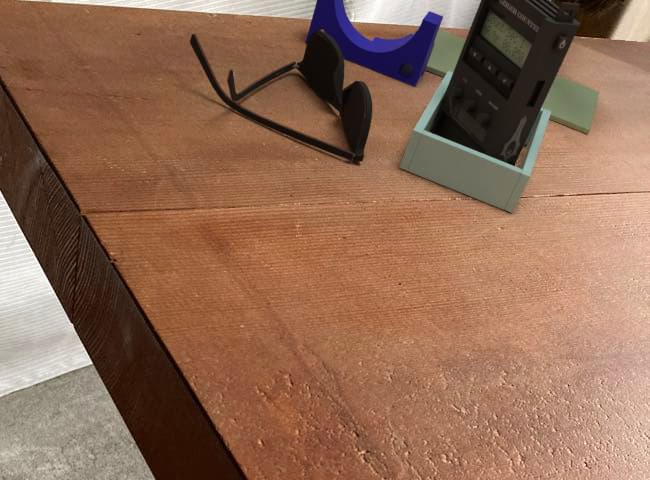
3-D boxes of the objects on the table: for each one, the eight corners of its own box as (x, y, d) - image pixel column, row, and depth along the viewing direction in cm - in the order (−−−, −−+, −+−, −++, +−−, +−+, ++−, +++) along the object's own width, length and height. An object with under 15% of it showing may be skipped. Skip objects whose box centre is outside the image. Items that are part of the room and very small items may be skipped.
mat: (597, 96, 109) (599, 91, 109) (587, 134, 101) (590, 129, 101) (430, 30, 111) (432, 26, 110) (407, 63, 102) (409, 58, 102)
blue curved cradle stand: (424, 72, 102) (446, 12, 97) (414, 86, 99) (437, 24, 94) (317, 30, 103) (335, -32, 98) (305, 42, 99) (322, -21, 95)
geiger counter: (415, 123, 93) (479, -50, 82) (453, 124, 95) (520, -45, 84) (475, 183, 87) (553, 7, 76) (514, 182, 89) (595, 10, 78)
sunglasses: (169, 56, 89) (179, -1, 86) (312, 74, 95) (328, 20, 91) (216, 152, 79) (229, 91, 76) (374, 166, 85) (394, 110, 81)
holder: (535, 145, 96) (551, 111, 93) (512, 213, 85) (530, 176, 82) (434, 105, 97) (448, 70, 94) (398, 167, 85) (413, 129, 83)
